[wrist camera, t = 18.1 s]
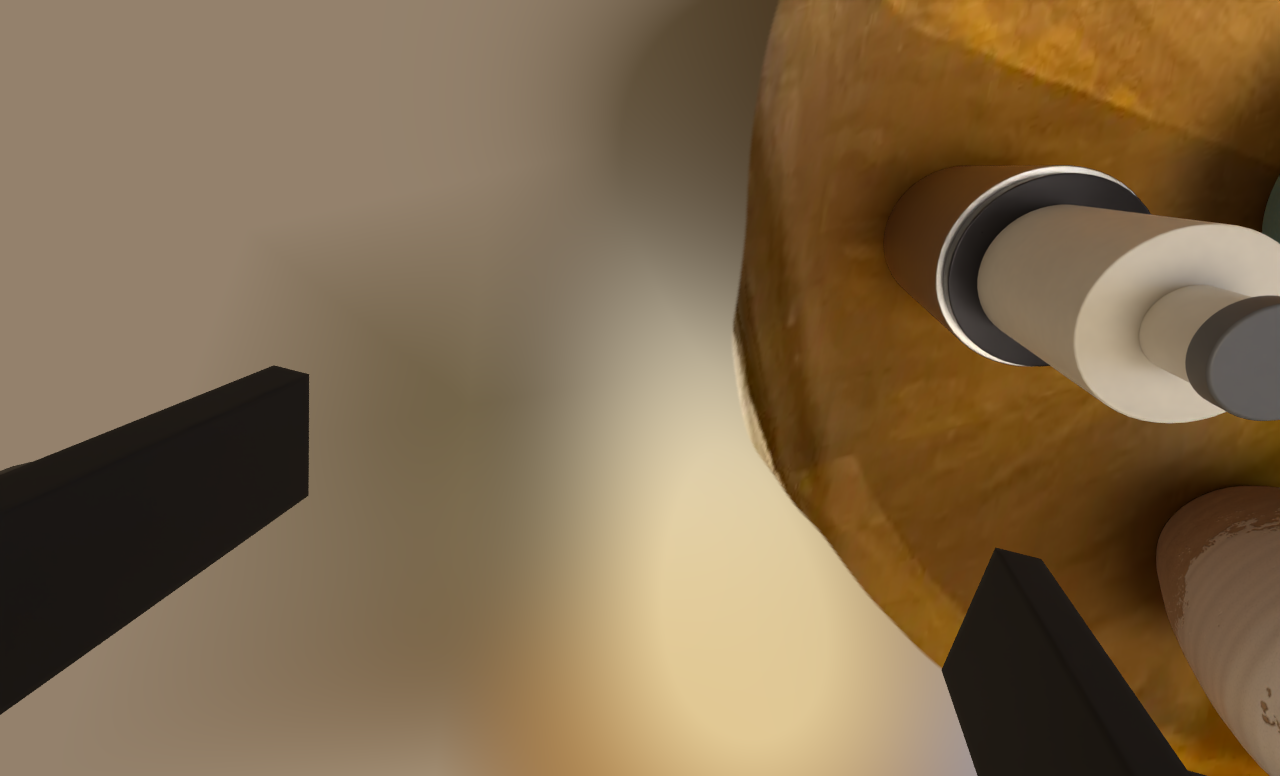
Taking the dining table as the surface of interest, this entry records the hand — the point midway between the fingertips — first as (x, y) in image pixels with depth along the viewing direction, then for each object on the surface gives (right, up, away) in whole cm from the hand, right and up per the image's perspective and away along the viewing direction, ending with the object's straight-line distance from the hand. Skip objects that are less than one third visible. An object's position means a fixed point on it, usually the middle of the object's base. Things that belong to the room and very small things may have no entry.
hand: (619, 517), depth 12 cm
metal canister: (+21, +12, +31) cm, 40 cm away
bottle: (+18, +7, +16) cm, 26 cm away
